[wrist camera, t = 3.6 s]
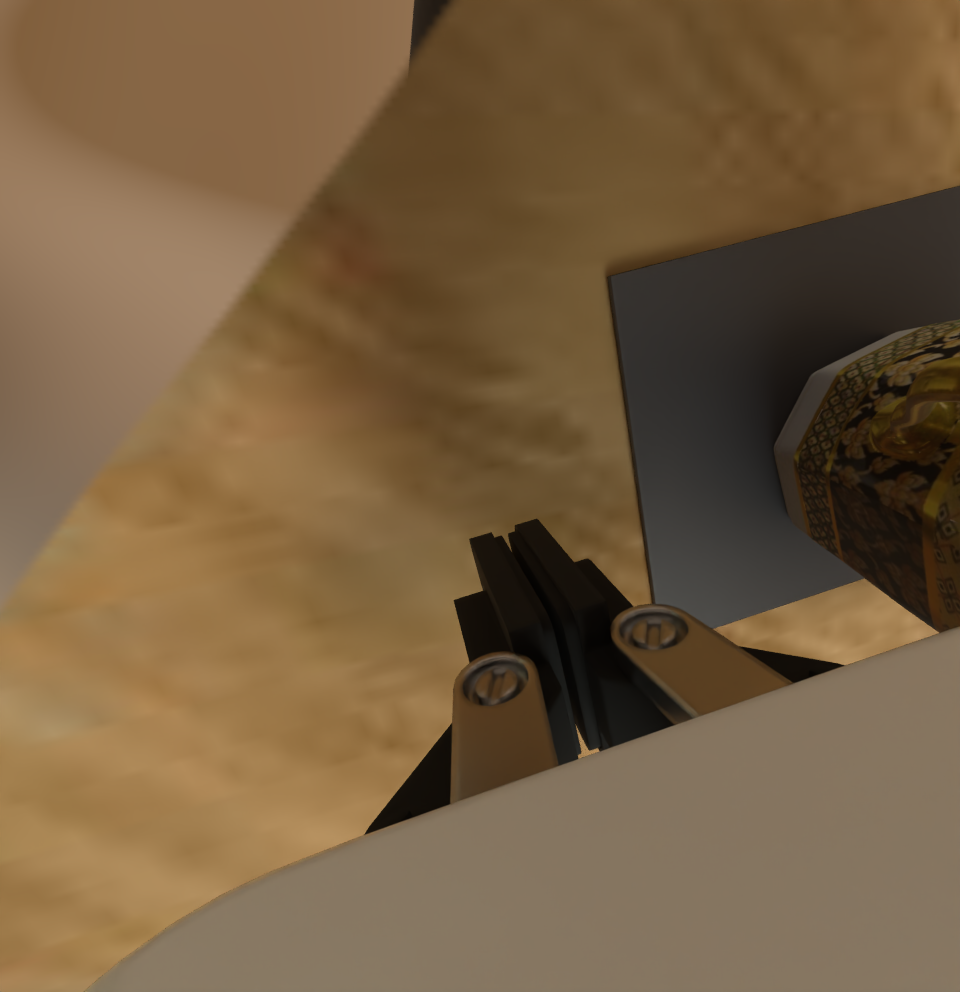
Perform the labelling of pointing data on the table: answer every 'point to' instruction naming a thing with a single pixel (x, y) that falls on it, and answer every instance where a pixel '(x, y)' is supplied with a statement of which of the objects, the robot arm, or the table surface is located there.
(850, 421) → the ceramic cup
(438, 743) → the robot arm
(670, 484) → the plate
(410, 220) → the table surface
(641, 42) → the table surface
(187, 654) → the table surface
